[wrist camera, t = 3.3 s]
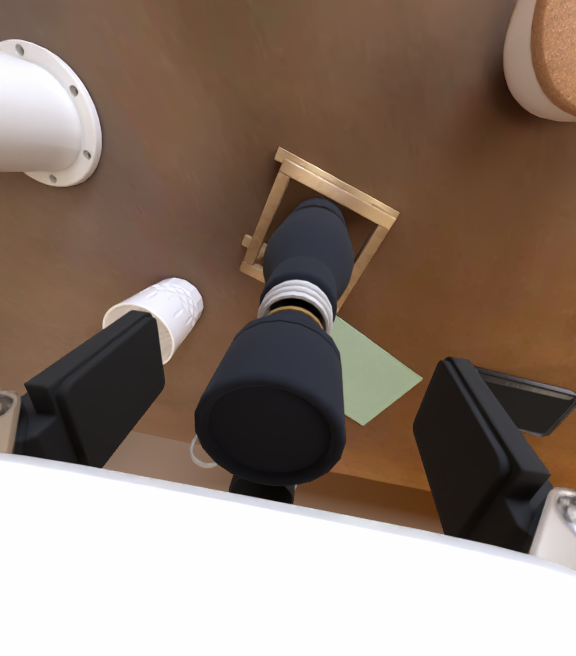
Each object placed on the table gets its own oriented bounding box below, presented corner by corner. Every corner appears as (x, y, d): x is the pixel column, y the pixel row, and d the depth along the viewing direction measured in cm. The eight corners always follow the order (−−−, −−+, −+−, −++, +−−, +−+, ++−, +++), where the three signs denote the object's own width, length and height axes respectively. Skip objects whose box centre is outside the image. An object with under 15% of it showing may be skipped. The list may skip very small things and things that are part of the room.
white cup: (210, 280, 38) (174, 314, 30) (206, 332, 42) (173, 375, 33) (151, 266, 38) (98, 295, 30) (152, 319, 42) (105, 358, 33)
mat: (257, 355, 43) (256, 356, 42) (307, 294, 37) (307, 295, 37) (362, 424, 46) (363, 426, 46) (422, 377, 41) (423, 379, 41)
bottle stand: (243, 243, 35) (217, 264, 27) (280, 147, 30) (262, 139, 22) (345, 294, 37) (350, 329, 29) (397, 211, 32) (420, 226, 24)
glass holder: (297, 431, 49) (284, 527, 36) (215, 403, 48) (173, 490, 35) (316, 394, 45) (310, 487, 32) (227, 362, 44) (184, 444, 31)
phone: (470, 369, 38) (584, 398, 38) (466, 364, 39) (578, 392, 39) (442, 413, 42) (546, 439, 42) (439, 407, 43) (541, 433, 43)
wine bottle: (343, 256, 35) (384, 528, 8) (289, 256, 35) (172, 503, 9) (347, 196, 32) (428, 330, 5) (287, 198, 32) (107, 319, 6)
